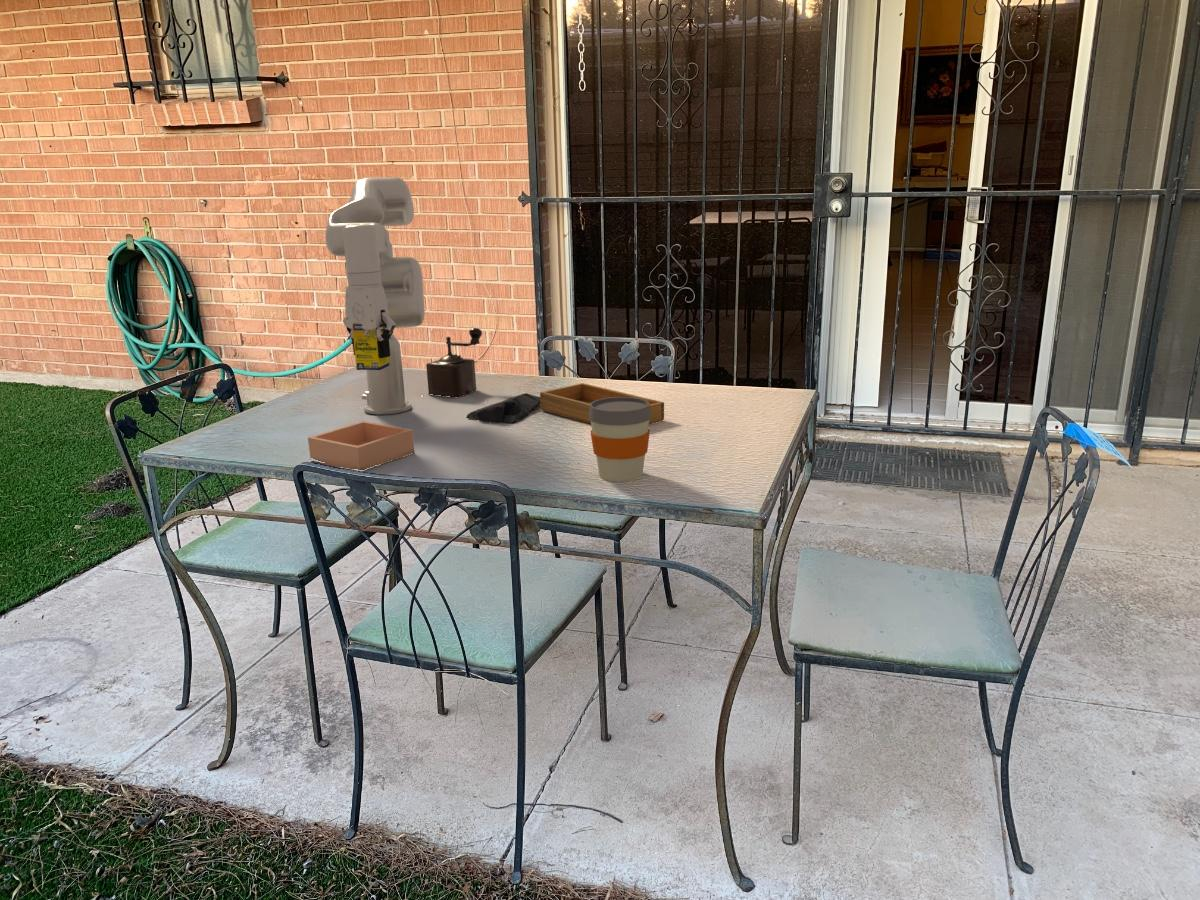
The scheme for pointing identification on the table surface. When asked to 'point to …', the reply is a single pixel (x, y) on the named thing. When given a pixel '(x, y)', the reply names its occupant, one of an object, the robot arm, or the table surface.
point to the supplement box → (367, 349)
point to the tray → (588, 401)
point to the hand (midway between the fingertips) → (372, 355)
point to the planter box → (361, 445)
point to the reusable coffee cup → (620, 436)
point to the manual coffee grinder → (453, 371)
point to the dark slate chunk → (507, 409)
